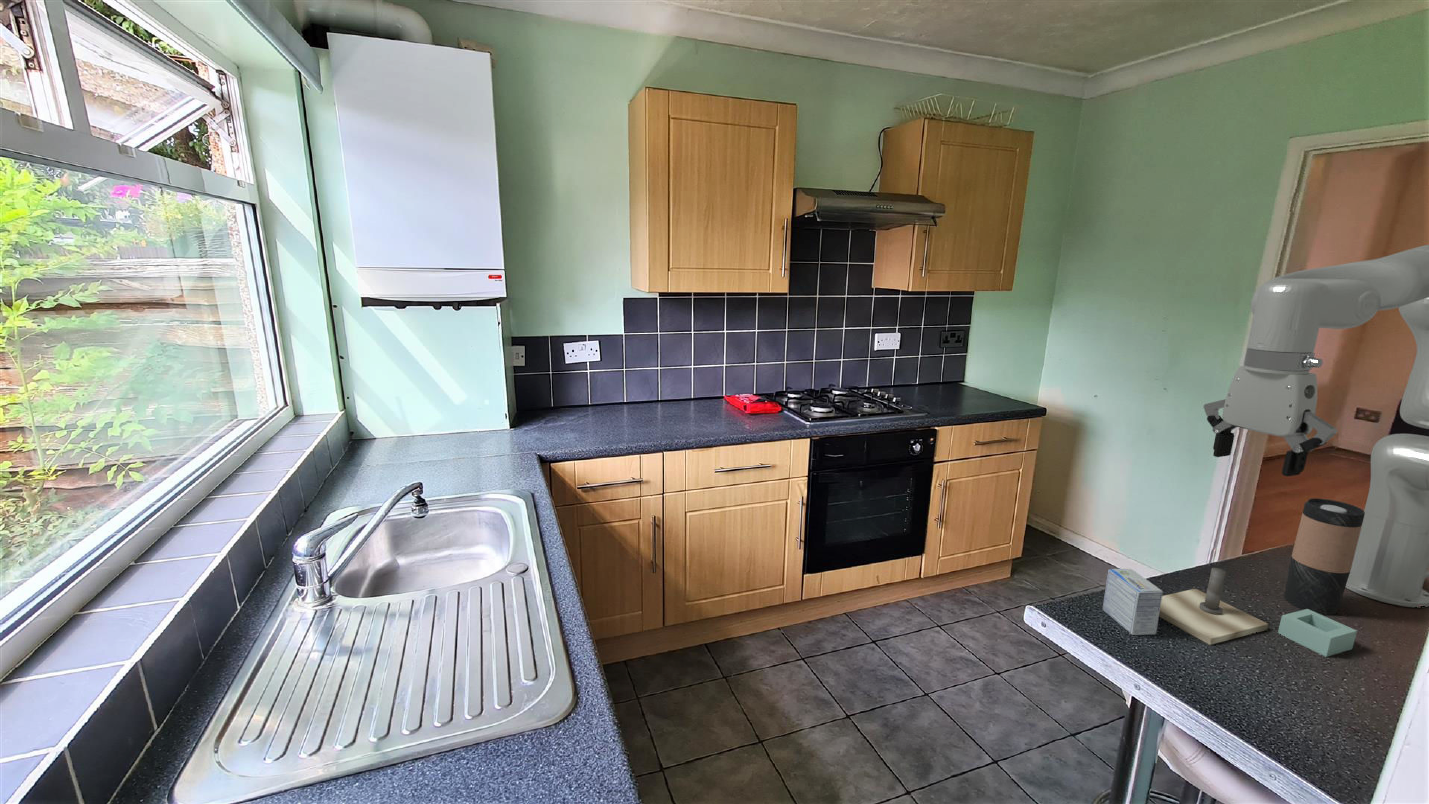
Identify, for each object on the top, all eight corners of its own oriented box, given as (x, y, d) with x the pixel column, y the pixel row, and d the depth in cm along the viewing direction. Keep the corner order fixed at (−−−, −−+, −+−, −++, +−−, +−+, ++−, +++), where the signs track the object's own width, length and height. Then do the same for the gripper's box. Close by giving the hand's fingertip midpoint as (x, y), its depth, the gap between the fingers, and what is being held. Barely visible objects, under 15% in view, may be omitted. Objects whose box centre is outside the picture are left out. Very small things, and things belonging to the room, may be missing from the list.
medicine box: (1156, 635, 100) (1164, 591, 98) (1131, 636, 100) (1139, 591, 98) (1124, 609, 108) (1131, 567, 106) (1101, 609, 108) (1107, 568, 106)
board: (1194, 593, 112) (1202, 551, 110) (1266, 629, 101) (1277, 582, 99) (1140, 606, 108) (1148, 562, 106) (1209, 644, 97) (1220, 596, 95)
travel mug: (1351, 618, 104) (1379, 516, 100) (1301, 613, 106) (1326, 513, 101) (1317, 595, 111) (1342, 499, 107) (1271, 591, 113) (1293, 496, 108)
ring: (1303, 626, 102) (1307, 608, 101) (1352, 649, 96) (1357, 630, 95) (1277, 633, 100) (1281, 615, 99) (1326, 656, 94) (1330, 638, 93)
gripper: (1366, 369, 83) (1338, 480, 86) (1231, 353, 99) (1212, 447, 103) (1332, 372, 80) (1305, 486, 84) (1200, 355, 97) (1182, 451, 100)
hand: (1254, 465), depth 93 cm, fingers open, 9 cm apart
